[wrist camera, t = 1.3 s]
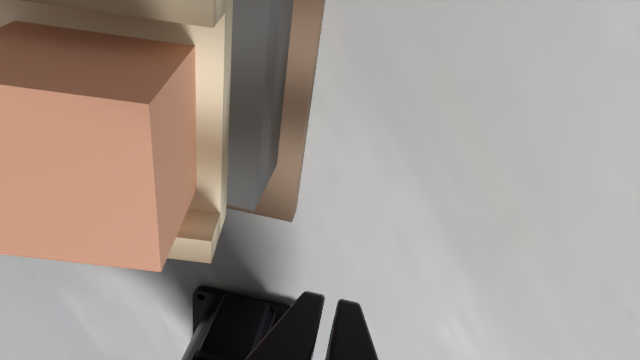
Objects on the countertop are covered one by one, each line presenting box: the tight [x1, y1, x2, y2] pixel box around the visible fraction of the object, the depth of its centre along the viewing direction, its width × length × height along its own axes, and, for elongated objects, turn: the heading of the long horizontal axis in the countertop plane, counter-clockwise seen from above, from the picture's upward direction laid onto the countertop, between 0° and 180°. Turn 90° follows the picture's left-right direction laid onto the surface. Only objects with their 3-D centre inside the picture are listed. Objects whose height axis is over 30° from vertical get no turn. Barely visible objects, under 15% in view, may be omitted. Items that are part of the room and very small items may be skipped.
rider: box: [0, 21, 197, 272], centre depth 13 cm, size 5×5×4 cm
